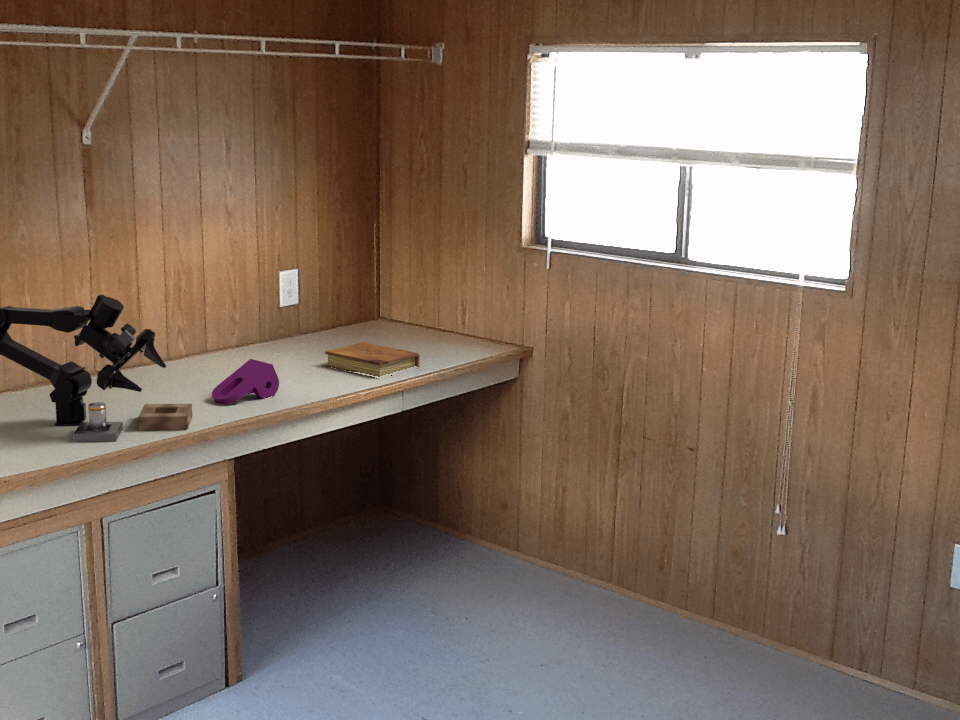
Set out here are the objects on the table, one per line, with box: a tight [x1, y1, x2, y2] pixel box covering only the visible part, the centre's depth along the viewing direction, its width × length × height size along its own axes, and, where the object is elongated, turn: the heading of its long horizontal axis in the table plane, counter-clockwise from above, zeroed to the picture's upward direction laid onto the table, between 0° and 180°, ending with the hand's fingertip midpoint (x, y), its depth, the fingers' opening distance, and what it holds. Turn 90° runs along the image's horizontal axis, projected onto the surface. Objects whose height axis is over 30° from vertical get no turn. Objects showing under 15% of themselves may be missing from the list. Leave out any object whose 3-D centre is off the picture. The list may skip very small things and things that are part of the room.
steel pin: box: [88, 401, 108, 431], centre depth 279 cm, size 4×4×8 cm
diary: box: [324, 341, 421, 377], centre depth 357 cm, size 23×19×6 cm
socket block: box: [137, 403, 193, 431], centre depth 292 cm, size 12×12×4 cm
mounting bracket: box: [211, 358, 280, 406], centre depth 318 cm, size 9×8×18 cm
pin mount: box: [72, 421, 124, 443], centre depth 280 cm, size 10×10×2 cm
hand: (153, 378), depth 283 cm, fingers open, 9 cm apart
